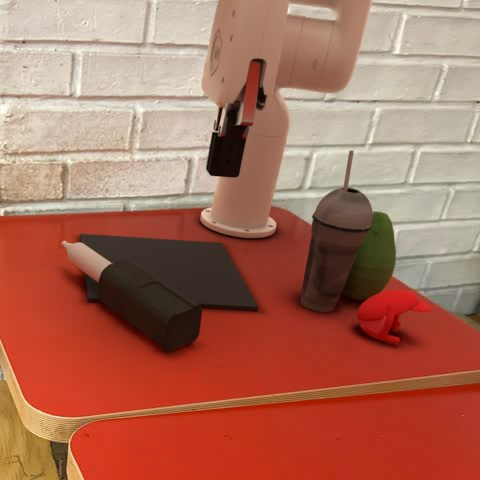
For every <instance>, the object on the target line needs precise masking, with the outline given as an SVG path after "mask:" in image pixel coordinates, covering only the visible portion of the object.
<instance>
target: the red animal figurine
mask: <svg viewBox="0 0 480 480" xmlns="http://www.w3.org/2000/svg"><path fill="white" fill-rule="evenodd" d="M408 311H412V312H419V313H428V312H432V311H433V308H432V306H431V305H430V304H428V303H427V302H425V301H423V300H421V299H419V298H418V295H416V294H415V293H414V292H412V291H409V290H407V289H389V290H384V291H381V292H380V293H378V294H376V295H374V296H372V297H370V298H368V299H365V300H364V301H363V302H362V303H361V304H360V306H359V307H358V309H357V312H356V318H357V321H358V324H359V326H360V329H361V331H363V332H364V333H365V334H367V335H368V336H369V337H371V338H374V339H376V340H378V341H382V342H386V343H390V344H394V345H398V344H399V343H400V342H401V339H400V337H398V336H394V335H390V334H389V332H390V331H391V332H392V333H397V332H398V331H399V328H400V326H401V324H402V323H401V321H400V316H401V315H402V314H404V313H406V312H408Z"/></svg>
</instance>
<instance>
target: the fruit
mask: <svg viewBox="0 0 480 480" xmlns="http://www.w3.org/2000/svg"><path fill="white" fill-rule="evenodd" d="M396 258H397V249H396V241H395V232H394V225H393V222H392V220H391V217H390V216H389V215H388V213H385V212H382V211H373V210H372V223H371V230H369V232H368V235H367V237H366V239H365V240H364V242H363V243H362V244H361V247H360V249H359V251H358V254H357V256H356V259H355V261H354V263H353V266H352V268H351V271H350V273H349V276H348V278H347V280H346V283H345V285H344V288H343V290H342V292H341V294H343V295H344V296H346V297H347V298H349V299H352V300H354V301H366V300H367V299H368V298H370V297H372V296H374V295H376V294H378V293H381V292H383V290H384V289H385V288H386V287H387V285H388V284H389V282H390V281H391V279H392V277H393V275H394V271H395V267H396V261H397V260H396Z"/></svg>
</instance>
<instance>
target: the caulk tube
mask: <svg viewBox="0 0 480 480" xmlns="http://www.w3.org/2000/svg"><path fill="white" fill-rule="evenodd" d="M60 244H61V247H63V248H64V249H65V251H66V253H67V260H68V261H69V262H70V263H71V264H72V265H74V266H76V268H78V269H79V270H80V271H82V272H83V273H84V272H85V273H86V274H87V275H89V276H90V277H92V278H93V279H94V280H96V281H97V282H98V287H99V290H100V300H101V301H102V302H103V304H104V305H105V306H106V307H108V308H109V309H111V310H112V311H113V312H114V313H116V314H117V315H119V317H121V318H123V320H125V321H126V322H128V323H129V324H130V325H131V326H133V327H134V328H135V329H137V330H138V331H139V332H141V333H142V334H143V335H145V336H146V337H147V338H148V339H150V340H151V341H152V342H154V343H155V344H156V345H158V346H159V347H161V348H162V349H163V350H164V351H166V352H167V353H172V352H173V353H174V351H175V350H177V349H179V348H181V347H183V346H186V345H188V344H189V345H191V344H193V343H195V342H196V340H197V339H198V337H199V335H200V333H201V332H200V331H201V324H202V315H203V308H201V306H199V305H198V304H196V303H195V302H193V301H192V300H190V299H189V298H187V297H186V296H184V295H183V294H181V293H180V292H178V291H177V290H175V289H174V288H172V287H171V286H169V285H168V284H166V283H165V282H163V281H162V280H160V279H159V278H157V277H156V276H154V275H153V274H151V273H150V272H148V271H147V270H145V269H144V268H142V267H141V266H139V265H138V264H136V263H135V262H133V261H132V260H125V261H122V262H116V264H112V263H111V262H109V261H108V260H106V259H105V258H103V257H102V256H101V255H99V254H98V253H96V252H95V251H93V250H92V249H90V248H89V247H88V246H86V245H85V244H83V243H81V241H79V242H74V243H71V242H68V241H66V240H62V241H61V243H60ZM85 273H84V274H85Z"/></svg>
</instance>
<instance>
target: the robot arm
mask: <svg viewBox="0 0 480 480" xmlns="http://www.w3.org/2000/svg"><path fill="white" fill-rule="evenodd" d="M290 4H292V5H298V6H305V7H312V8H313V7H314V8H320V9H328V10H331V11H332V13H333V14H334V17H335V18H334V19H329V18H327V19H326V18H319V17H311V16H306V15H301V14H300V15H299V14H291V13H288V12H289V5H290ZM372 4H373V0H218V1H217V4H216V8H215V14H214V18H213V23H212V26H211V32H210V38H209V41H208V42H209V43H208V45H207V50H206V51H207V52H206V56H205V63H204V66H203V72H202V76H201V84H200V85H201V90H202V91H203V93H204V94H205V95H206V96H207V97H208V98H209V99H210V100H211V101H212V102H213V103H214V104H215V111H214V118H213V126H212V129H213V131H211V136H210V143H209V147H208V148H209V149H208V154H207V159H206V164H205V170H206V171H207V173H208V175H209V176H211V177H216V183H215V188H214V193H213V198H212V204H211V207H207V208H205V209H203V210H202V211H201V213H200V218H199V219H200V220H199V221H200V222H201V223H202V225H203V226H204V227H206V228H207V229H210V230H212V231H213V232H217V233H219V234H222V235H225V236H229V237H235V238H241V239H242V238H243V239H263V238H267V237H271V236H272V235H274V234H275V232H276V228H277V222H276V221H275V220H274V219H273V218H272V217H271V216H270V213H271V210H272V204H273V200H274V195H275V191H276V189H277V188H276V187H277V183H278V179H279V175H280V170H281V165H282V161H283V158H284V155H285V154H284V153H285V150H286V149H285V148H286V144H287V140H288V137H289V132H290V128H291V127H290V126H291V113H290V109H289V107H288V105H287V102H286V100H285V99H284V97H283V95H282V93H281V91H280V89H291V90H292V89H293V90H300V91H306V92H307V91H308V92H314V93H320V94H338V93H341V92H343V91H344V90H345V89H346V88H347V86H348V85H349V84H350V81H351V80H352V77H353V75H354V73H355V70H356V66H357V63H358V59H359V55H360V52H361V47H362V43H363V39H364V36H365V33H366V28H367V24H368V20H369V16H370V12H371V9H372Z"/></svg>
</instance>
